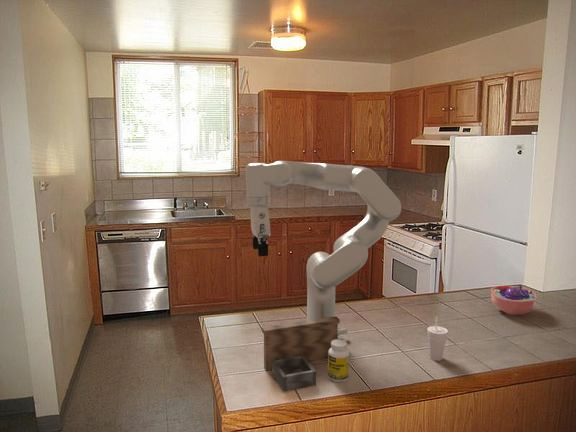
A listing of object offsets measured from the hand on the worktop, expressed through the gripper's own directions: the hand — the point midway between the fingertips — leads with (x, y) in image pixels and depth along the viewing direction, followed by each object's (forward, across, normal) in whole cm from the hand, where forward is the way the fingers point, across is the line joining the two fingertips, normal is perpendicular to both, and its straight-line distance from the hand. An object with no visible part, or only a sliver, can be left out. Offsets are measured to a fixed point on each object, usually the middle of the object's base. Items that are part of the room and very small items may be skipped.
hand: (260, 252), depth 155 cm
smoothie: (+34, -23, -52) cm, 66 cm away
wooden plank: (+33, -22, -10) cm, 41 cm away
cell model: (+36, +4, -103) cm, 109 cm away
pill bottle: (+33, -27, -17) cm, 46 cm away
